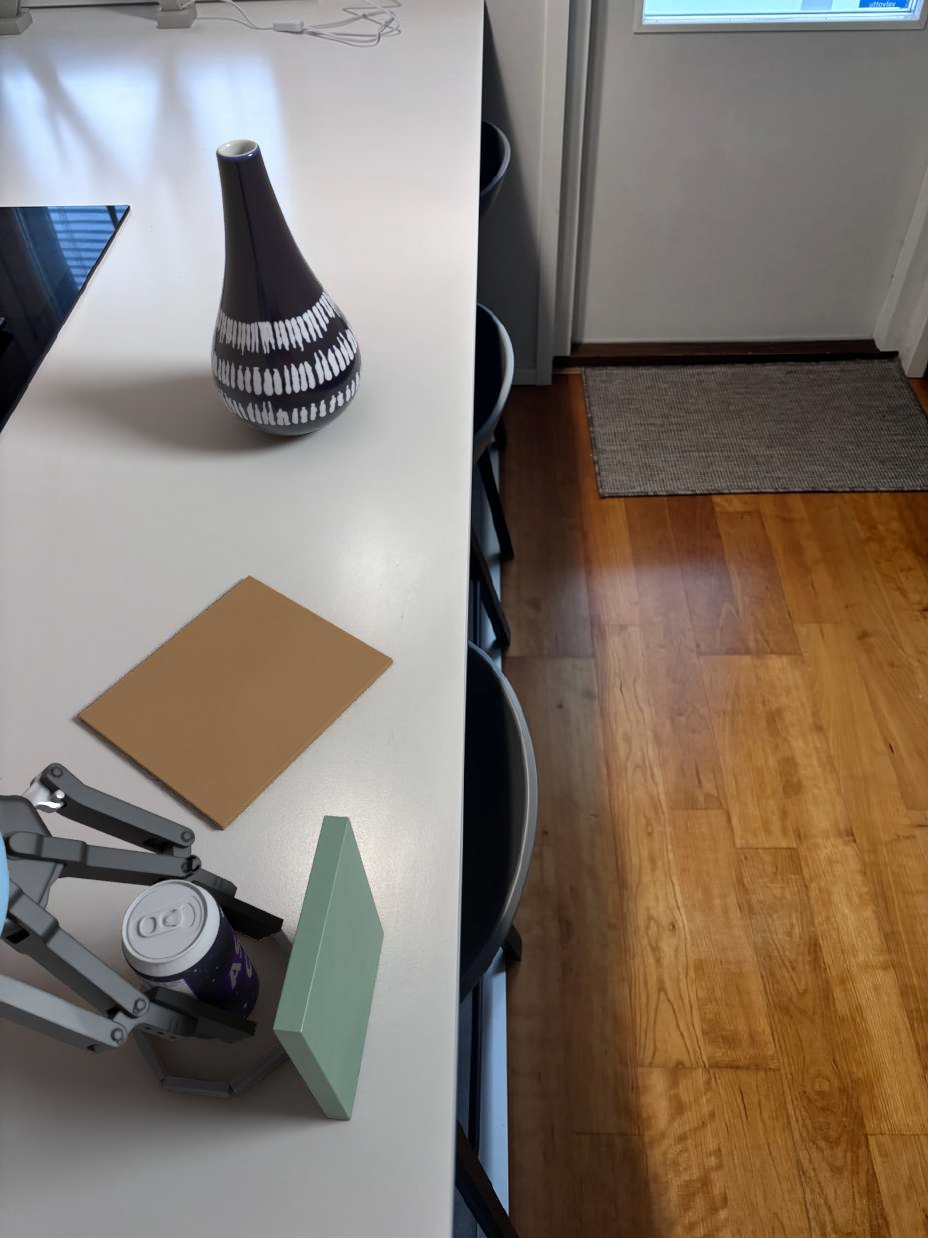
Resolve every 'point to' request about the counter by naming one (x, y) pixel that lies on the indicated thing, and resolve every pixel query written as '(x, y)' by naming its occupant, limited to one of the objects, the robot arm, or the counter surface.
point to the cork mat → (235, 698)
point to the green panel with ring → (316, 983)
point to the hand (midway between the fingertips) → (257, 979)
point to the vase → (275, 314)
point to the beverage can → (188, 947)
